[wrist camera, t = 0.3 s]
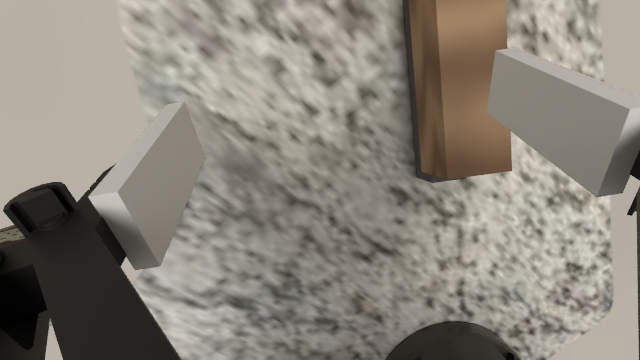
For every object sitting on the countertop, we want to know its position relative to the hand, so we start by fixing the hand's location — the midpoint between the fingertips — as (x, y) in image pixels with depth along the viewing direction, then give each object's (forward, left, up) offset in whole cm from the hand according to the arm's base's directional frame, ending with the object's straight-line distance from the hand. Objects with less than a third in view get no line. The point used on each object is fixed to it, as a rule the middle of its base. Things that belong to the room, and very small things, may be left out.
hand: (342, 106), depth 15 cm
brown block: (+2, -10, -11) cm, 15 cm away
